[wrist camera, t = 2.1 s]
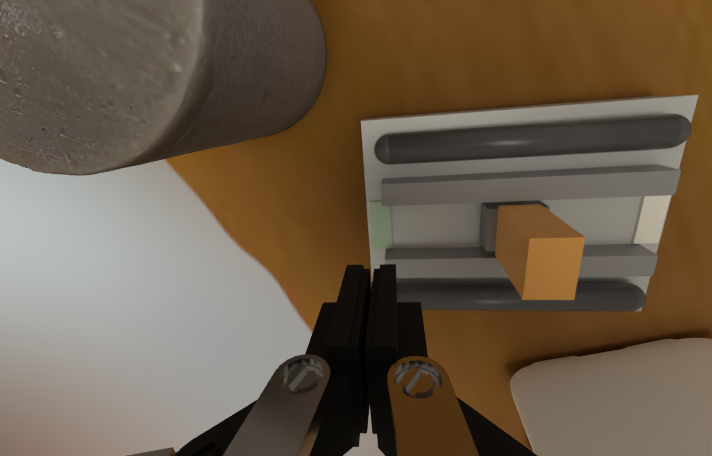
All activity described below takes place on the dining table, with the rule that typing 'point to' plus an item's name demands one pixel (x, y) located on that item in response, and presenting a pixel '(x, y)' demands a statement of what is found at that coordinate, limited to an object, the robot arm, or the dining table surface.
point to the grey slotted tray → (524, 195)
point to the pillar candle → (150, 78)
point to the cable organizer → (620, 401)
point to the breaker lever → (533, 248)
